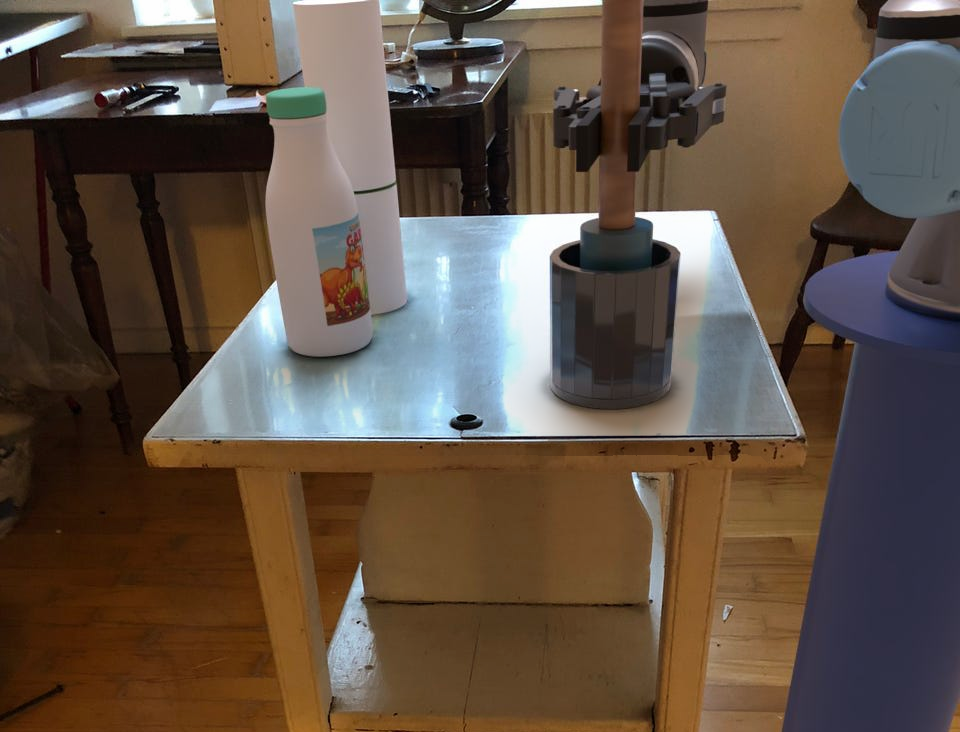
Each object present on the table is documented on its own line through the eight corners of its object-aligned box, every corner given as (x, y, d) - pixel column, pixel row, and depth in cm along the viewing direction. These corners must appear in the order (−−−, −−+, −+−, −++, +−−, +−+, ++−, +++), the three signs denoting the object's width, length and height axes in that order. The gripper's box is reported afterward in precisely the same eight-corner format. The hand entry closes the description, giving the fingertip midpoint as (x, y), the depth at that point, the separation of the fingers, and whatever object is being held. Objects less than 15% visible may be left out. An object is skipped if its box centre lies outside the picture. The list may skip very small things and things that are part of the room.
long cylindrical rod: (652, 311, 75) (671, -74, 61) (644, 335, 71) (663, -71, 57) (585, 309, 77) (589, -69, 62) (574, 332, 73) (575, -66, 58)
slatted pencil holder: (675, 364, 80) (685, 237, 74) (664, 412, 73) (673, 275, 66) (562, 359, 82) (562, 235, 76) (540, 405, 75) (538, 272, 69)
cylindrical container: (381, 286, 100) (350, -5, 85) (421, 302, 95) (395, -3, 80) (321, 302, 97) (277, 3, 81) (359, 320, 92) (320, 5, 77)
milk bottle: (299, 365, 84) (255, 102, 71) (279, 337, 89) (235, 89, 77) (384, 349, 86) (356, 91, 74) (360, 322, 91) (329, 79, 79)
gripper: (741, 139, 81) (728, 211, 62) (554, 142, 84) (491, 211, 66) (751, 33, 76) (740, 78, 58) (554, 40, 80) (485, 84, 62)
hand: (607, 148), depth 62 cm, fingers closed on long cylindrical rod, 3 cm apart
